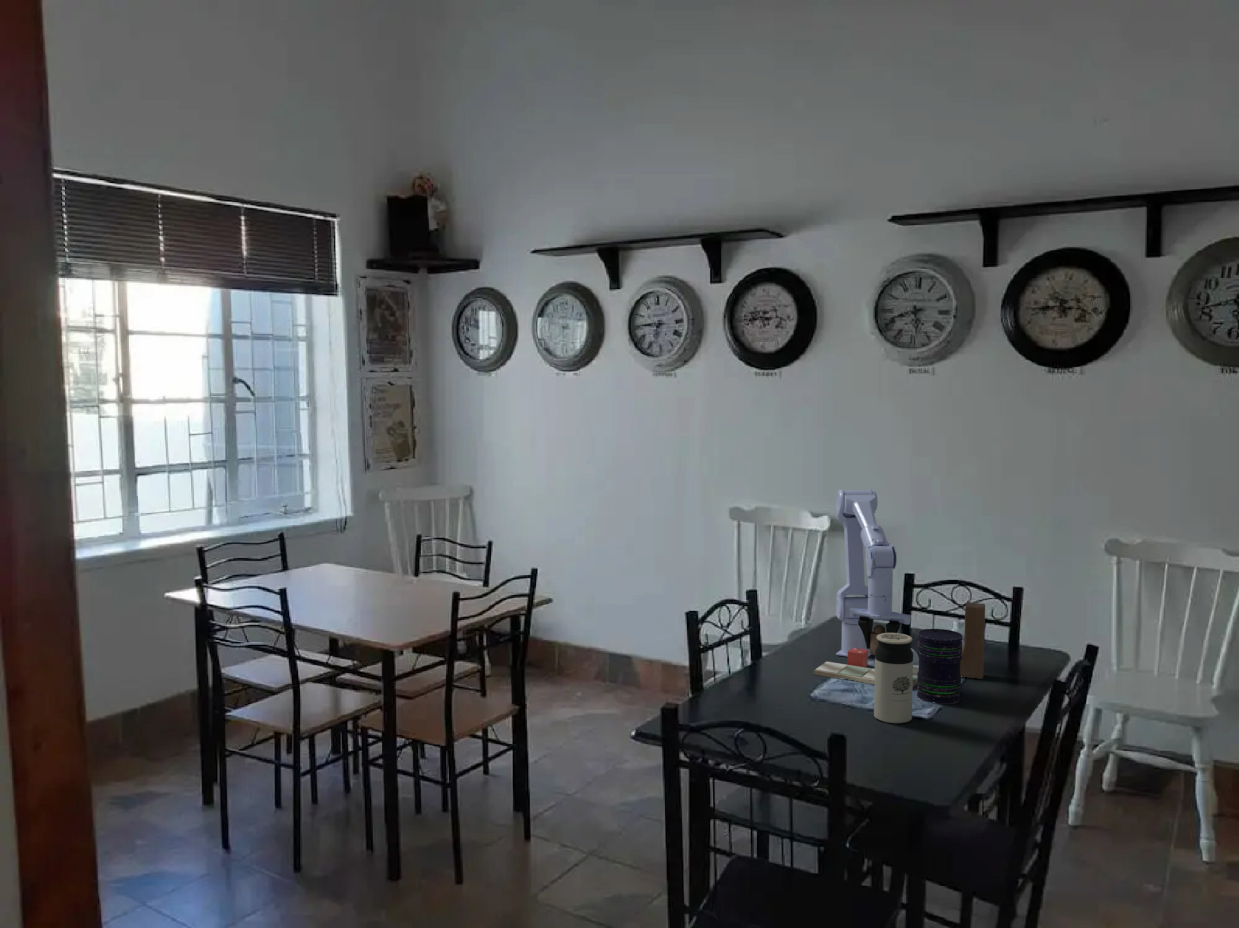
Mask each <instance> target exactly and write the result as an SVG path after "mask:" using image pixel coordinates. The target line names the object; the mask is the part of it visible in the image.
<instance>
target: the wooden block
mask: <svg viewBox="0 0 1239 928" xmlns="http://www.w3.org/2000/svg"><path fill="white" fill-rule="evenodd" d="M985 625H986V604H985V603H978V602H966V603H965V607H964V637H963V638H964V639H963V640H964V642H963V645H962V660H961V663H960V675H961V676H962V677H961V678H965V677H967V679H974V678H977V679H976V680H983V679H984V669H985V668H984V664H985V661H984V660H985V627H986V626H985Z"/></svg>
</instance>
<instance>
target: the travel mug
mask: <svg viewBox="0 0 1239 928" xmlns="http://www.w3.org/2000/svg"><path fill="white" fill-rule="evenodd" d="M877 639H878V646H877V648H876V650H875V655H874V669H875V685H874V687H873V688H874V691H873V692H874V698H873V699H874V700H873V701H874V702H873V716H874V717H875V719H878V720H879V721H882V722H884V723H887V724H904V723H908V722H910V721H912V720H913V688H914V687H913V652H912V650H911V644H912V641H913V638H912V636H910V635H907V634H904V633H898V632H897V633H882V634H879V635H877ZM912 687H913V688H912Z"/></svg>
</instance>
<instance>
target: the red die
mask: <svg viewBox="0 0 1239 928" xmlns="http://www.w3.org/2000/svg"><path fill="white" fill-rule="evenodd" d="M846 665H852V666H859V667H865V668H867V667H868V665H869V657H868V650H865V649H858V648H852V649H850V650H849V651H848V657H847V663H846Z"/></svg>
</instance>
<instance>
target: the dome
mask: <svg viewBox="0 0 1239 928" xmlns="http://www.w3.org/2000/svg"><path fill="white" fill-rule="evenodd" d="M910 648H911V647H910ZM911 650H912V652H913V665H915V666H919V657H918V652H916V650H914V649H913V648H911Z"/></svg>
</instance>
